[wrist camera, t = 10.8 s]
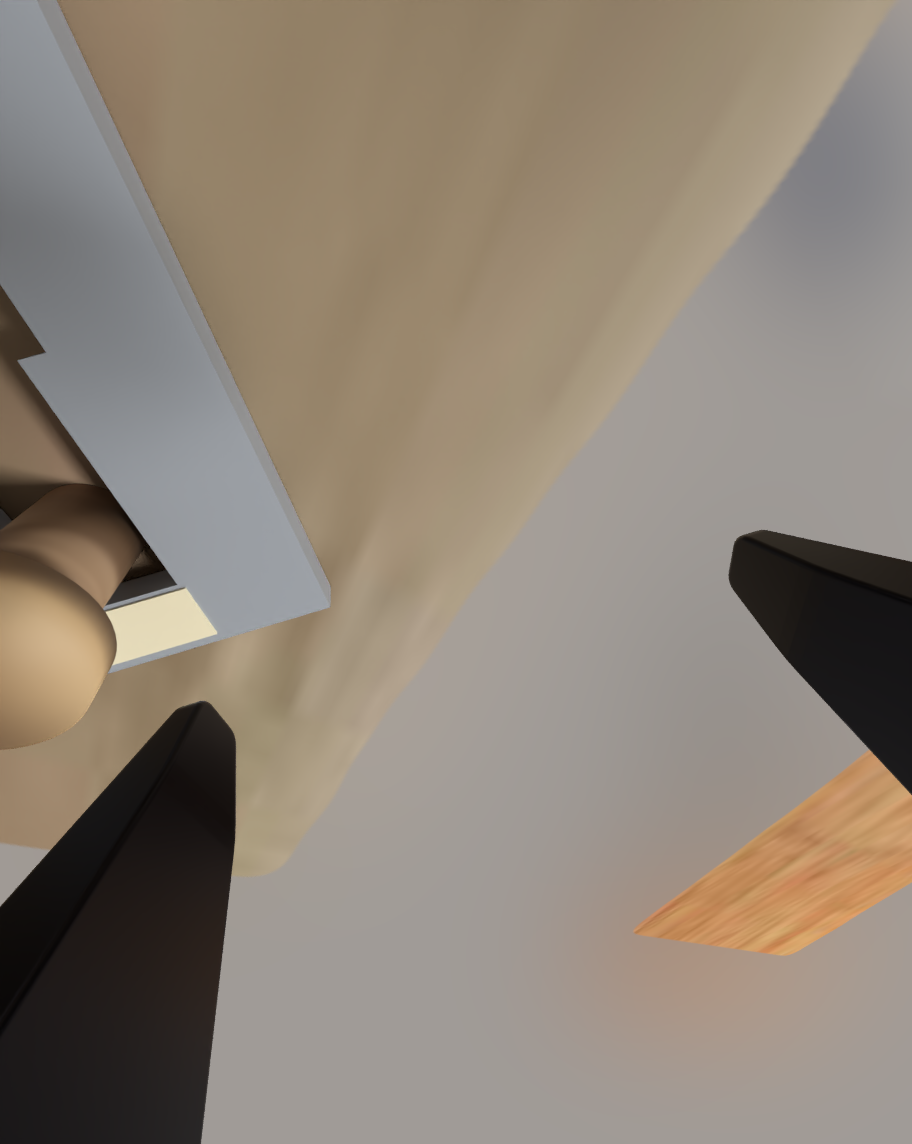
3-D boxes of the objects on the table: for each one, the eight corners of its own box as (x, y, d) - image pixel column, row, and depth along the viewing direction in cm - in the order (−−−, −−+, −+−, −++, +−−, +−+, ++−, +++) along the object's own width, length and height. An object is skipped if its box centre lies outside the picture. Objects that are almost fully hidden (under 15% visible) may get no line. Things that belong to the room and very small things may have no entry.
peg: (121, 437, 16) (-20, 551, 9) (203, 564, 19) (138, 712, 13) (-41, 481, 15) (-295, 628, 9) (70, 603, 18) (-63, 774, 12)
